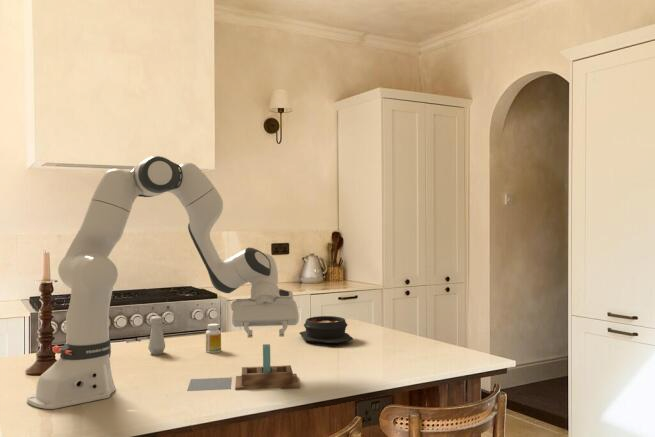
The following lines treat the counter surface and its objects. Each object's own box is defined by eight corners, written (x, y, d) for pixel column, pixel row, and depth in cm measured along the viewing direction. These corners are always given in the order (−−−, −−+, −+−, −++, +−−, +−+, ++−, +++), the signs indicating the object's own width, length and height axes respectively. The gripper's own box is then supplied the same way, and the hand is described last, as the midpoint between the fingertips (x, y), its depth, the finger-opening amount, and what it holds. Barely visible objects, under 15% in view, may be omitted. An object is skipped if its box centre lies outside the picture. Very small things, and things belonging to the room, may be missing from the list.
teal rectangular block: (263, 382, 175) (263, 347, 175) (263, 378, 179) (262, 344, 179) (270, 382, 175) (270, 347, 175) (270, 378, 179) (269, 344, 179)
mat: (186, 392, 169) (186, 390, 169) (190, 380, 181) (190, 379, 181) (230, 390, 171) (230, 388, 171) (231, 378, 182) (231, 377, 182)
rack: (235, 391, 170) (235, 376, 170) (236, 379, 182) (235, 366, 182) (299, 388, 172) (299, 374, 172) (296, 376, 184) (296, 363, 184)
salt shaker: (144, 354, 215) (144, 317, 215) (156, 350, 220) (156, 314, 220) (157, 356, 212) (156, 318, 212) (168, 352, 217) (168, 316, 217)
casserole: (288, 338, 240) (287, 317, 240) (326, 332, 251) (326, 312, 251) (324, 350, 219) (324, 326, 219) (364, 343, 230) (364, 321, 230)
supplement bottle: (224, 350, 219) (224, 323, 219) (214, 353, 215) (214, 326, 215) (212, 349, 222) (212, 322, 222) (202, 352, 217) (202, 325, 217)
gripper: (231, 293, 188) (230, 331, 178) (297, 291, 190) (300, 329, 181) (231, 305, 192) (230, 343, 183) (296, 304, 195) (299, 340, 185)
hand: (266, 336), depth 182 cm, fingers open, 8 cm apart
